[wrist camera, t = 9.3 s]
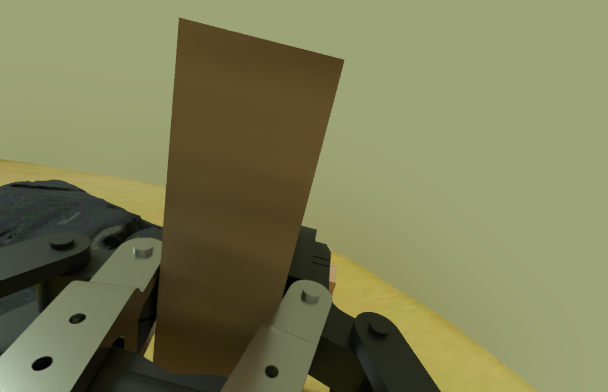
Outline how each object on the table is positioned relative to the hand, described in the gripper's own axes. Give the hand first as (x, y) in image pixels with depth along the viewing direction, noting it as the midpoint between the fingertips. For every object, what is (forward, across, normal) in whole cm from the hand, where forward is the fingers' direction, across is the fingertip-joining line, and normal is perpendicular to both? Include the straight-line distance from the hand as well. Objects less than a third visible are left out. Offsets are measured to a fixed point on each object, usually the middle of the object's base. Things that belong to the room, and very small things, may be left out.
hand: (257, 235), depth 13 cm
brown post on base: (-3, 0, +8) cm, 8 cm away
